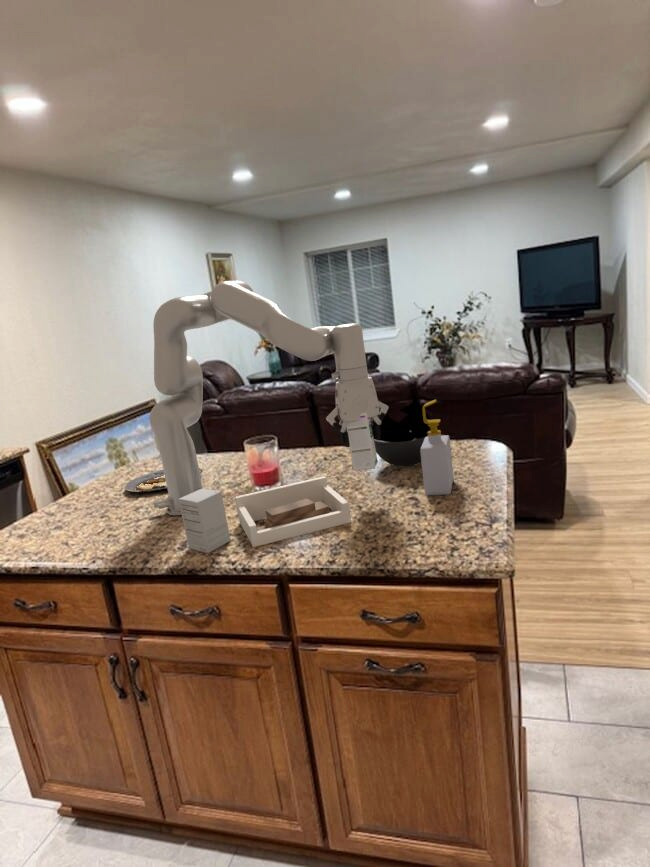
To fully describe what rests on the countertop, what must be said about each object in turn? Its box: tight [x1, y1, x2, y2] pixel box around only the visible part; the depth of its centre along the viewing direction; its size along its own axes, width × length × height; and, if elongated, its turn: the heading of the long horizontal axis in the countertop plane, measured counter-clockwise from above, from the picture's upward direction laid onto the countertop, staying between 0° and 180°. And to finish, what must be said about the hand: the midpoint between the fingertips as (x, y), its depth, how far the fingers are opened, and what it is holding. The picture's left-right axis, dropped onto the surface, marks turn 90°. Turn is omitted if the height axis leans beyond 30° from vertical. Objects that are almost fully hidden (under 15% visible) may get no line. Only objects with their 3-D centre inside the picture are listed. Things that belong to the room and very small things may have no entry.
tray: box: [234, 476, 352, 548], centre depth 148 cm, size 24×18×7 cm
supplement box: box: [178, 488, 232, 554], centre depth 140 cm, size 7×7×13 cm
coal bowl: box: [371, 402, 432, 468], centre depth 179 cm, size 20×20×19 cm
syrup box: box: [346, 412, 379, 471], centre depth 152 cm, size 6×6×14 cm
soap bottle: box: [420, 399, 454, 496], centre depth 155 cm, size 12×7×23 cm, turn 165°
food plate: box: [124, 467, 203, 493], centre depth 200 cm, size 25×23×4 cm
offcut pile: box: [256, 498, 332, 531], centre depth 145 cm, size 18×6×6 cm, turn 116°
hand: (361, 442), depth 152 cm, fingers closed on syrup box, 7 cm apart
